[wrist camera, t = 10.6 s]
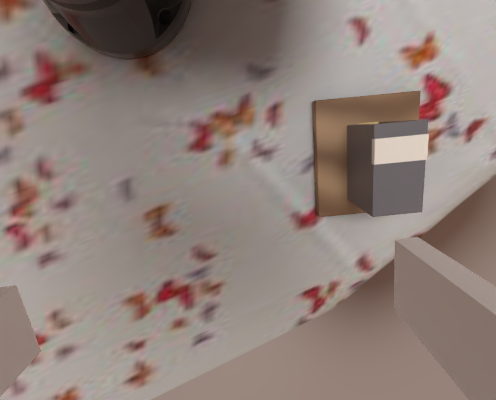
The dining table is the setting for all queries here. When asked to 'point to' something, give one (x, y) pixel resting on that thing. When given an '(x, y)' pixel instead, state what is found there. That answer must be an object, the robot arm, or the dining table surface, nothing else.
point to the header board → (335, 141)
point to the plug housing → (387, 166)
